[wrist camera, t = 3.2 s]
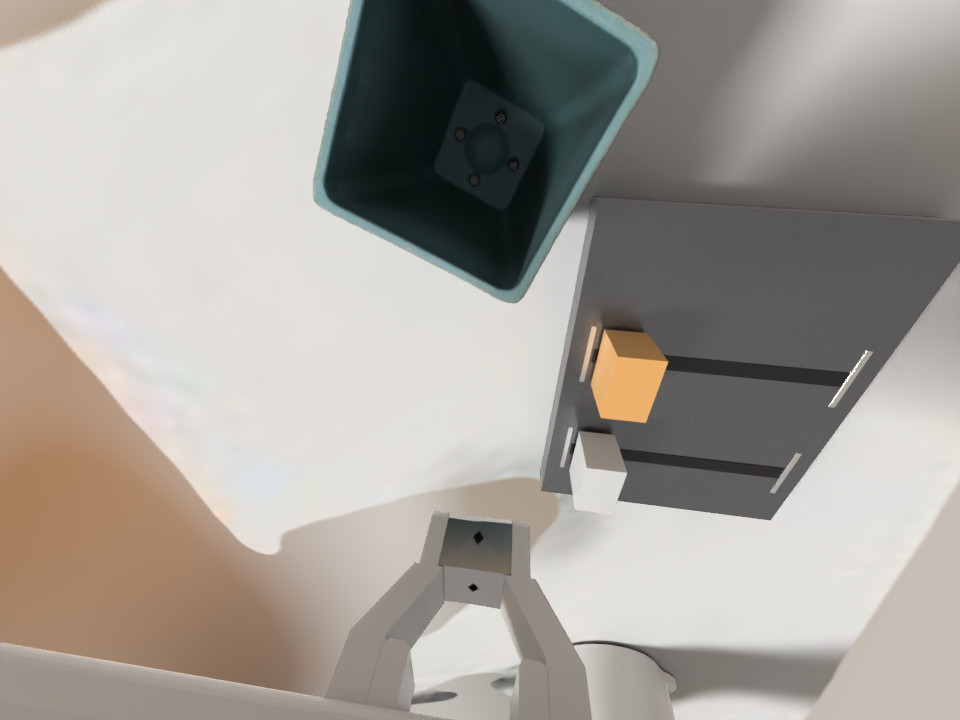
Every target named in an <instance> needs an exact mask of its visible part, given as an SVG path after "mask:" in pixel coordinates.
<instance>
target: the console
mask: <svg viewBox="0 0 960 720" xmlns="http://www.w3.org/2000/svg"><path fill="white" fill-rule="evenodd" d="M959 261H960V220H958V219H949V218H938V217H921V216H904V215H888V214H871V213H855V212H838V211H821V210H805V209H788V208H771V207H755V206H738V205H722V204H705V203H688V202H672V201H655V200H638V199H622V198H605V197H593V199H592V204H591V209H590V214H589V220H588V225H587V230H586V235H585V240H584V246H583V251H582V256H581V261H580V267H579V272H578V277H577V282H576V288H575V293H574V298H573V303H572V309H571V314H570V319H569V324H568V330H567V335H566V340H565V345H564V351H563V356H562V361H561V366H560V372H559V377H558V382H557V387H556V393H555V398H554V403H553V408H552V414H551V419H550V424H549V429H548V435H547V440H546V445H545V450H544V456H543V461H542V466H541V471H540V476H541V491H547V492H554V493H562V494H570V495H573V493H572V486H571V479H570V472H569V470H570V466H571V462H572V458H573V454H574V450H575V446H576V442H577V438H578V434H579V431H583V432H592V433H601V434H610V435H615V437H616V440H617V443H618V446H619V449H620V452H621V455H622V458H623V461H624V464H625V467H626V470H627V475H626V478H625V481H624V484H623V486H622V489H621V492H620V494H619V497H618V500H617V501H624V502H632V503H640V504H648V505H656V506H663V507H671V508H679V509H687V510H694V511H702V512H710V513H718V514H726V515H733V516H741V517H749V518H757V519H765V520H771V519H772V517H773V516H774V515H775V513H776V512H777V511H778V509H779V508H780V506H781V505H782V504H783V502H784V501H785V500H786V498H787V497H788V495H789V494H790V493H791V491H792V490H793V489H794V487H795V486H796V485H797V483H798V482H799V480H800V479H801V478H802V476H803V475H804V474H805V472H806V471H807V469H808V468H809V467H810V465H811V464H812V463H813V461H814V460H815V459H816V457H817V456H818V454H819V453H820V452H821V450H822V449H823V448H824V446H825V445H826V443H827V442H828V441H829V439H830V438H831V437H832V435H833V434H834V433H835V431H836V430H837V428H838V427H839V426H840V424H841V423H842V422H843V420H844V419H845V417H846V416H847V415H848V413H849V412H850V411H851V409H852V408H853V407H854V405H855V404H856V402H857V401H858V400H859V398H860V397H861V396H862V394H863V393H864V391H865V390H866V389H867V387H868V386H869V385H870V383H871V382H872V381H873V379H874V378H875V376H876V375H877V374H878V372H879V371H880V370H881V368H882V367H883V365H884V364H885V363H886V361H887V360H888V359H889V357H890V356H891V355H892V353H893V352H894V350H895V349H896V348H897V346H898V345H899V344H900V342H901V341H902V339H903V338H904V337H905V335H906V334H907V333H908V331H909V330H910V329H911V327H912V326H913V324H914V323H915V322H916V320H917V319H918V318H919V316H920V315H921V313H922V312H923V311H924V309H925V308H926V307H927V305H928V304H929V303H930V301H931V300H932V298H933V297H934V296H935V294H936V293H937V292H938V290H939V289H940V287H941V286H942V285H943V283H944V282H945V281H946V279H947V278H948V277H949V275H950V274H951V272H952V271H953V270H954V268H955V267H956V266H957V264H958V263H959ZM604 329H607V330H618V331H629V332H640V333H647V334H648V335H649V336H650V338H651V339H652V340H653V342H654V343H655V344H656V346H657V347H658V348H659V350H660V351H661V352H662V354H663V355H664V356H665V358H666V359H667V360H668V364H667V367H666V370H665V372H664V375H663V378H662V380H661V383H660V386H659V389H658V391H657V394H656V397H655V399H654V402H653V405H652V408H651V410H650V413H649V416H648V418H647V421H646V423H642V422H633V421H624V420H615V419H606V418H601V417H600V414H599V410H598V407H597V404H596V400H595V397H594V394H593V391H592V387H591V381H592V377H593V373H594V369H595V365H596V361H597V357H598V353H599V349H600V345H601V341H602V337H603V333H604Z"/></svg>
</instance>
